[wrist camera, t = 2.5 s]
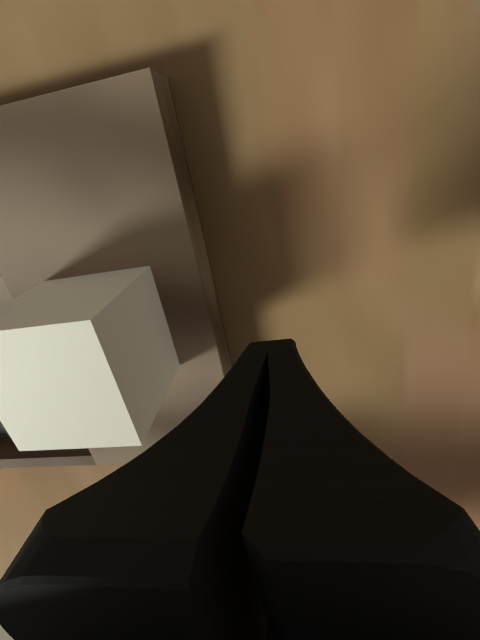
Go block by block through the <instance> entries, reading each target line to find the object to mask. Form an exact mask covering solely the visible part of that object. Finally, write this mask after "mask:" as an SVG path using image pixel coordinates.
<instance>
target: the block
mask: <svg viewBox="0 0 480 640" xmlns="http://www.w3.org/2000/svg"><path fill="white" fill-rule="evenodd" d="M179 366H180V364H179V360H178V357H177V354H176V350H175V347H174V344H173V341H172V337H171V334H170V331H169V327H168V324H167V321H166V317H165V314H164V311H163V308H162V304H161V301H160V298H159V294H158V291H157V288H156V284H155V281H154V278H153V274H152V271H151V268H150V266H144V267H138V268H131V269H124V270H117V271H110V272H103V273H96V274H89V275H82V276H75V277H69V278H62V279H55V280H48V281H44V282H42V283H40V284H39V285H37V286H35V287H33V288H32V289H30V290H28V291H27V292H25V293H23V294H21V295H20V296H18V297H16V298H14V299H13V300H11V301H9V302H7V303H6V304H4V305H2V306H0V421H1V423H2V424H3V426H4V428H5V429H6V431H7V432H8V434H9V436H10V437H11V439H12V440H13V442H14V444H15V445H16V447H17V448H18V450H19V451H35V450H57V449H80V448H102V447H125V446H142V444H143V442H144V440H145V438H146V436H147V434H148V432H149V430H150V427H151V425H152V423H153V421H154V419H155V417H156V415H157V413H158V410H159V408H160V406H161V404H162V402H163V400H164V398H165V396H166V393H167V391H168V389H169V387H170V385H171V383H172V381H173V379H174V376H175V374H176V372H177V370H178V368H179Z"/></svg>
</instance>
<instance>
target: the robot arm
mask: <svg viewBox="0 0 480 640" xmlns="http://www.w3.org/2000/svg"><path fill="white" fill-rule="evenodd" d="M0 625H1V626H2V627H3V629H4V630H5V631H6V632H7V633H8V634H9V635H10V636H11V637H12V638H13V639H14V640H480V531H479V529H478V528H477V526H476V525H475V524H474V522H473V521H472V519H471V518H470V517H469V515H468V514H467V512H466V511H465V510H464V509H463V508H462V507H461V506H459V505H457V504H456V503H454V502H453V501H451V500H450V499H448V498H447V497H445V496H444V495H442V494H440V493H439V492H437V491H436V490H434V489H433V488H431V487H430V486H428V485H427V484H425V483H424V482H422V481H420V480H419V479H417V478H416V477H414V476H413V475H412V474H410V473H409V472H408V471H406V470H405V469H404V468H402V467H401V466H400V465H398V464H397V463H396V462H394V461H393V460H392V459H390V458H389V457H388V456H387V455H386V454H385V453H383V452H382V451H381V450H380V449H379V448H377V447H376V446H375V445H374V444H373V443H372V442H370V441H369V440H368V439H367V438H366V437H365V436H363V435H362V434H361V433H360V432H359V431H358V430H357V429H356V428H355V427H354V426H353V425H352V424H351V423H350V422H349V421H348V420H347V419H346V418H345V417H344V416H343V415H342V414H341V413H340V412H339V411H338V410H337V409H336V407H335V406H334V405H333V404H332V403H331V402H330V400H329V399H328V398H327V397H326V396H325V394H324V393H323V392H322V390H321V389H320V388H319V386H318V385H317V384H316V382H315V381H314V379H313V378H312V376H311V375H310V373H309V371H308V370H307V368H306V367H305V365H304V363H303V361H302V359H301V357H300V355H299V353H298V351H297V348H296V343H295V341H294V340H292V339H283V340H272V341H262V342H251V343H250V344H249V345H248V346H247V347H246V349H245V350H244V351H243V353H242V354H241V356H240V357H239V358H238V360H237V361H236V362H235V364H234V365H233V366H232V368H231V369H230V370H229V372H228V373H227V374H226V375H225V377H224V378H223V379H222V380H221V382H220V383H219V384H218V385H217V386H216V388H215V389H214V390H213V391H212V392H211V393H210V394H209V395H208V396H207V398H206V399H205V400H204V401H203V402H202V403H201V404H200V405H199V406H198V407H197V408H196V409H195V410H194V411H193V412H192V413H191V414H190V415H189V416H187V417H186V418H185V419H184V420H183V421H182V422H181V423H180V424H179V425H177V426H176V427H175V428H174V429H173V430H171V431H170V432H169V433H167V434H166V435H165V436H164V437H162V438H161V439H160V440H158V441H157V442H156V443H155V444H153V445H152V446H151V447H149V448H148V449H147V450H145V451H144V452H143V453H141V454H140V455H138V456H137V457H135V458H134V459H132V460H131V461H130V462H128V463H127V464H125V465H123V466H122V467H120V468H119V469H117V470H116V471H114V472H113V473H111V474H109V475H108V476H106V477H104V478H103V479H101V480H100V481H98V482H96V483H94V484H93V485H91V486H89V487H87V488H85V489H84V490H82V491H80V492H78V493H76V494H75V495H73V496H71V497H69V498H68V499H66V500H64V501H62V502H60V503H59V504H57V505H55V506H53V507H51V508H49V509H47V510H46V511H45V513H44V514H43V515H42V517H41V518H40V520H39V521H38V523H37V524H36V526H35V528H34V529H33V531H32V532H31V534H30V535H29V537H28V538H27V540H26V541H25V543H24V544H23V546H22V548H21V549H20V551H19V552H18V554H17V555H16V557H15V558H14V560H13V561H12V563H11V565H10V566H9V568H8V569H7V571H6V572H5V574H4V575H3V577H2V578H1V580H0Z"/></svg>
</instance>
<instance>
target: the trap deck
mask: <svg viewBox="0 0 480 640" xmlns="http://www.w3.org/2000/svg"><path fill="white" fill-rule="evenodd" d="M144 266H150V268H151V271H152V274H153V278H154V281H155V284H156V288H157V291H158V294H159V298H160V301H161V304H162V308H163V311H164V314H165V317H166V321H167V324H168V327H169V331H170V334H171V337H172V341H173V344H174V347H175V350H176V354H177V357H178V360H179V364H180V366H179V368H178V370H177V372H176V374H175V376H174V379H173V381H172V383H171V385H170V387H169V389H168V391H167V393H166V396H165V398H164V400H163V402H162V404H161V406H160V408H159V410H158V413H157V415H156V417H155V419H154V421H153V423H152V425H151V427H150V430H149V432H148V434H147V436H146V438H145V440H144V442H143V444H142V446H125V447H102V448H80V449H57V450H35V451H19V450H18V448H17V447H16V445H15V444H14V442H13V440H12V439H11V437H10V436H9V434H8V432H7V431H6V429H5V428H4V426H3V424H2V423H1V421H0V468H18V467H47V466H76V465H105V464H127V463H128V462H130V461H131V460H132V459H134V458H135V457H137V456H138V455H140V454H141V453H143V452H144V451H145V450H147V449H148V448H149V447H151V446H152V445H153V444H155V443H156V442H157V441H158V440H160V439H161V438H162V437H164V436H165V435H166V434H167V433H169V432H170V431H171V430H173V429H174V428H175V427H176V426H177V425H179V424H180V423H181V422H182V421H183V420H184V419H185V418H186V417H187V416H189V415H190V414H191V413H192V412H193V411H194V410H195V409H196V408H197V407H198V406H199V405H200V404H201V403H202V402H203V401H204V400H205V399H206V398H207V396H208V395H209V394H210V393H211V392H212V391H213V390H214V389H215V388H216V386H217V385H218V384H219V383H220V382H221V380H222V379H223V378H224V377H225V375H226V374H227V373H228V372H229V370H230V369H231V368H232V362H231V358H230V353H229V349H228V344H227V340H226V336H225V331H224V327H223V322H222V318H221V313H220V309H219V304H218V300H217V295H216V291H215V286H214V282H213V277H212V273H211V269H210V264H209V260H208V255H207V251H206V246H205V242H204V237H203V233H202V228H201V224H200V219H199V215H198V210H197V206H196V202H195V197H194V193H193V188H192V184H191V179H190V175H189V170H188V166H187V161H186V157H185V152H184V148H183V143H182V139H181V135H180V130H179V126H178V121H177V117H176V112H175V108H174V103H173V99H172V94H171V90H170V85H169V81H168V78H167V77H166V76H164V75H162V74H160V73H159V72H157V71H155V70H153V69H152V68H150V67H149V68H145V69H141V70H137V71H133V72H129V73H125V74H121V75H118V76H114V77H110V78H106V79H102V80H98V81H94V82H90V83H86V84H82V85H79V86H75V87H71V88H67V89H63V90H59V91H55V92H51V93H47V94H43V95H39V96H36V97H32V98H28V99H24V100H20V101H16V102H12V103H8V104H4V105H0V306H2V305H4V304H6V303H7V302H9V301H11V300H13V299H14V298H16V297H18V296H20V295H21V294H23V293H25V292H27V291H28V290H30V289H32V288H33V287H35V286H37V285H39V284H40V283H42V282H44V281H48V280H55V279H62V278H69V277H75V276H82V275H89V274H96V273H103V272H110V271H117V270H124V269H131V268H138V267H144Z"/></svg>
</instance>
